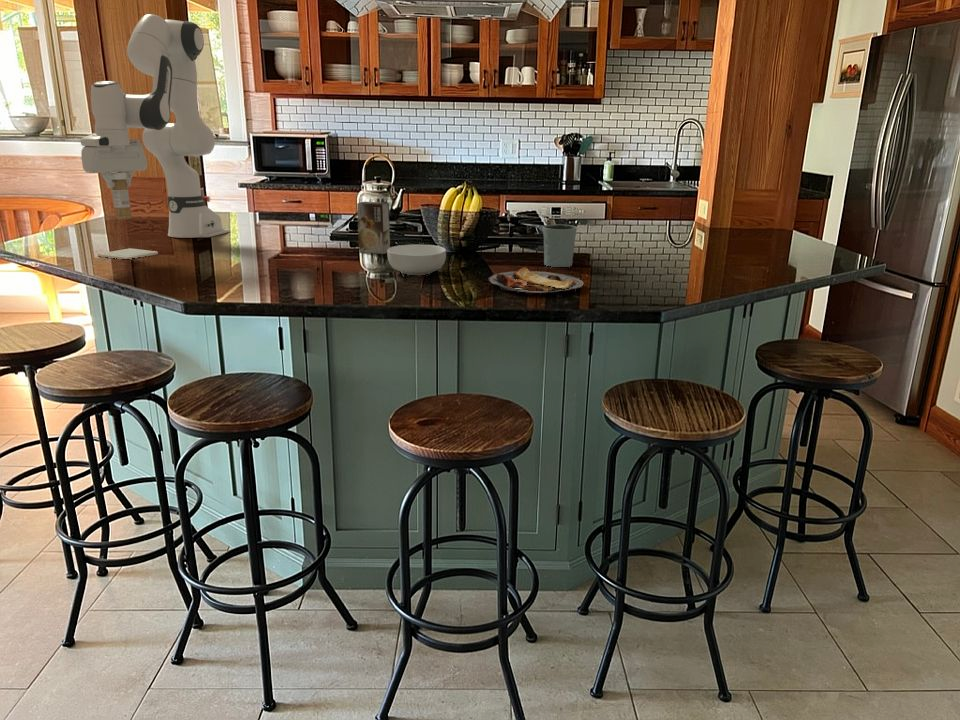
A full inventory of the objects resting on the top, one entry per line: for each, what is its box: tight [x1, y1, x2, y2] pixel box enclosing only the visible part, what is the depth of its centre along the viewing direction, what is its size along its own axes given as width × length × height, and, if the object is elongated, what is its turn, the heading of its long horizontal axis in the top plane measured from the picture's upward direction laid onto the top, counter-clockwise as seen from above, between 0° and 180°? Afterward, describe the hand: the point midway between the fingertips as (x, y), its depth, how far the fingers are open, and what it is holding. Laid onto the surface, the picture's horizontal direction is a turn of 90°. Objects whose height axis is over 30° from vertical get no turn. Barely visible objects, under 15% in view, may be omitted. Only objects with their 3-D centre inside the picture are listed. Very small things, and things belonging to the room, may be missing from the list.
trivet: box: [97, 247, 159, 260], centre depth 223 cm, size 12×12×1 cm
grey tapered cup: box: [542, 223, 578, 268], centre depth 220 cm, size 10×10×12 cm
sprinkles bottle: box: [109, 172, 132, 220], centre depth 218 cm, size 5×5×14 cm
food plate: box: [487, 266, 585, 295], centre depth 192 cm, size 25×23×4 cm
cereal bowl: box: [386, 244, 447, 276], centre depth 205 cm, size 17×17×7 cm
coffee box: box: [356, 201, 391, 255], centre depth 236 cm, size 9×6×16 cm
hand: (119, 187), depth 217 cm, fingers closed on sprinkles bottle, 4 cm apart
